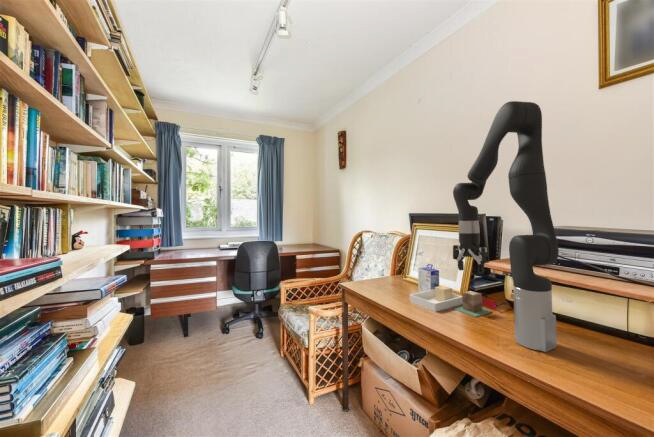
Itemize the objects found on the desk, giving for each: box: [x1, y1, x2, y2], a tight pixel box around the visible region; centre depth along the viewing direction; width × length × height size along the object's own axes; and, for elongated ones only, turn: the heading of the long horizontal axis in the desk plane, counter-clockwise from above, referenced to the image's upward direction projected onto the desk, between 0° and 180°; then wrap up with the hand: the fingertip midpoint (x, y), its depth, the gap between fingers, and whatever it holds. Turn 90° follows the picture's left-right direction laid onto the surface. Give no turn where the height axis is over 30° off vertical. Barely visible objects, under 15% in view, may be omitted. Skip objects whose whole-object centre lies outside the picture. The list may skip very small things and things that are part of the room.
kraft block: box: [435, 285, 453, 302], centre depth 120 cm, size 5×5×6 cm
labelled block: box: [461, 290, 483, 313], centre depth 107 cm, size 5×5×7 cm
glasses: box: [480, 292, 509, 311], centre depth 115 cm, size 14×16×5 cm
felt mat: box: [452, 305, 493, 318], centre depth 107 cm, size 10×10×1 cm
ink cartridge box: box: [417, 263, 440, 292], centre depth 133 cm, size 10×6×14 cm, turn 18°
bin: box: [409, 289, 463, 313], centre depth 118 cm, size 15×17×4 cm
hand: (470, 271), depth 107 cm, fingers open, 8 cm apart
